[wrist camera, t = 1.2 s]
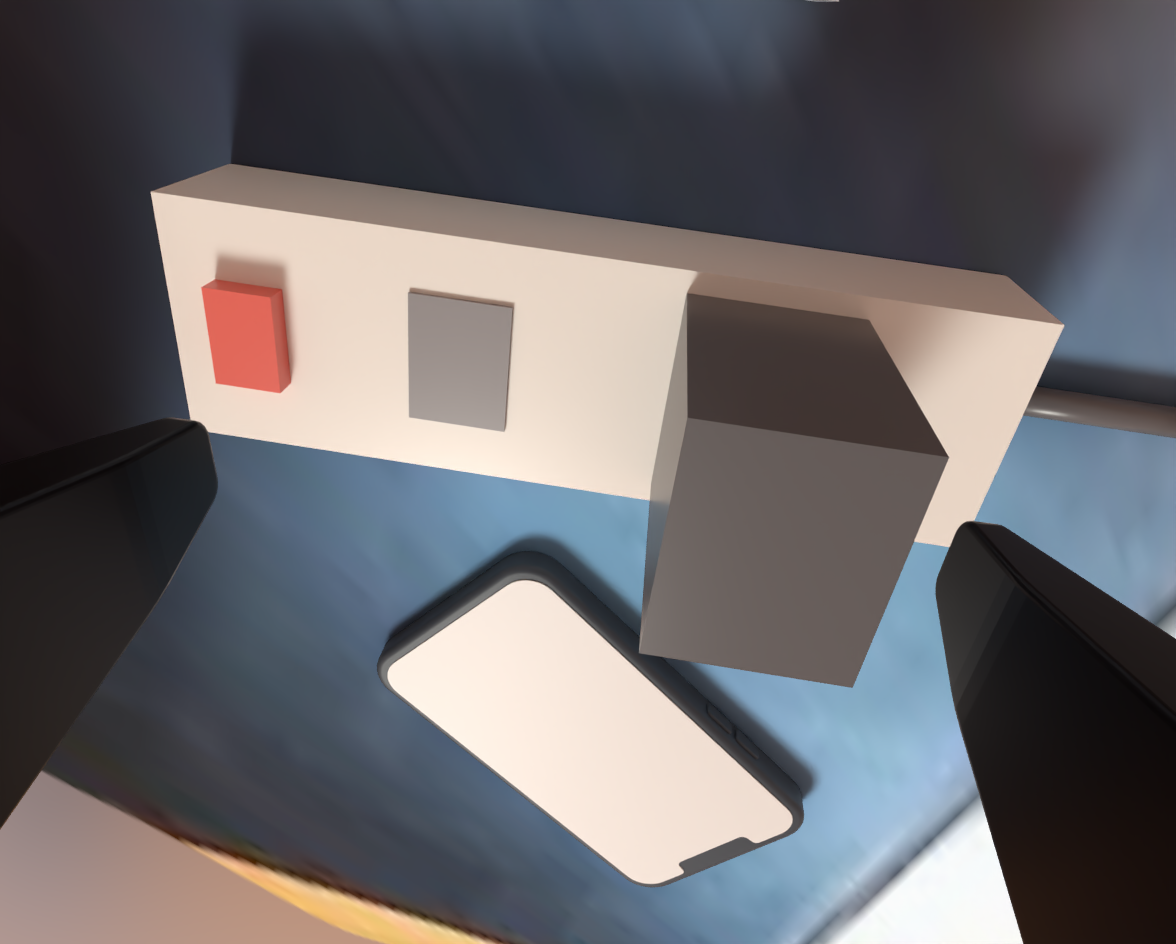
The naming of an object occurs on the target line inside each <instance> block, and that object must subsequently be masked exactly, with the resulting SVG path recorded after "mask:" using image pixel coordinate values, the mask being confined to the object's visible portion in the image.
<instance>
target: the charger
mask: <svg viewBox="0 0 1176 944" xmlns="http://www.w3.org/2000/svg"><path fill="white" fill-rule="evenodd" d="M948 459H949V456H948V455H947V453H946V451H945V449H944V448H943V446H942V444H941V443H940V441H939V439H938V437H937V436H936V434H935V432H934V430H933V429H932V427H931V425H930V424H929V422H928V420H927V418H926V417H925V415H924V413H923V412H922V410H921V408H920V406H919V405H918V403H917V401H916V399H915V398H914V396H913V394H912V393H911V391H910V389H909V387H908V386H907V384H906V382H905V381H904V379H903V377H902V375H901V374H900V372H899V370H898V369H897V367H896V365H895V363H894V362H893V360H892V358H891V356H890V355H889V353H888V351H887V350H886V348H885V346H884V344H883V343H882V341H881V339H880V338H879V336H878V334H877V332H876V331H875V329H874V327H873V325H872V324H871V322H870V320H867V319H860V318H854V317H847V316H840V315H833V314H826V313H820V312H813V311H806V310H799V309H792V308H786V307H779V306H772V305H765V304H758V303H752V302H745V301H738V300H731V299H724V298H718V297H711V296H704V295H697V294H690V293H687V294H686V299H685V305H684V310H683V315H682V321H681V326H680V331H679V337H678V342H677V347H676V353H675V358H674V363H673V369H672V374H671V379H670V385H669V390H668V395H667V401H666V406H665V411H664V417H663V422H662V427H661V433H660V438H659V443H658V449H657V454H656V459H655V465H654V470H653V475H652V481H651V489H650V504H649V518H648V532H647V546H646V560H645V575H644V589H643V603H642V617H641V631H640V645H639V653H641V654H647V655H653V656H660V657H666V658H672V659H678V660H684V661H690V662H697V663H703V664H709V665H715V666H721V667H728V668H734V669H740V670H746V671H752V672H759V673H765V674H771V675H777V676H783V677H789V678H796V679H802V680H808V681H814V682H820V683H827V684H833V685H839V686H845V687H851V688H853V685H854V683H855V681H856V678H857V676H858V674H859V671H860V669H861V666H862V664H863V662H864V659H865V657H866V654H867V652H868V650H869V647H870V645H871V643H872V640H873V638H874V635H875V633H876V631H877V628H878V626H879V623H880V621H881V619H882V616H883V614H884V612H885V609H886V607H887V604H888V602H889V600H890V597H891V595H892V593H893V590H894V588H895V585H896V583H897V581H898V578H899V576H900V573H901V571H902V569H903V566H904V564H905V562H906V559H907V557H908V554H909V552H910V550H911V547H912V545H913V543H914V540H915V538H916V535H917V533H918V531H919V528H920V526H921V523H922V521H923V519H924V516H925V514H926V512H927V509H928V507H929V504H930V502H931V500H932V497H933V495H934V493H935V490H936V488H937V485H938V483H939V481H940V478H941V476H942V473H943V471H944V469H945V466H946V464H947V462H948Z"/></svg>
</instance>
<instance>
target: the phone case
mask: <svg viewBox="0 0 1176 944" xmlns="http://www.w3.org/2000/svg"><path fill="white" fill-rule="evenodd" d="M639 645H640V637H639V636H638V635H637V634H636V633H635V632H634V631H632V630H631V629H630V628H629V627H628V626H627V625H626V624H625V623H624V622H623V621H622V620H621V619H620V618H618V617H617V616H616V615H615V614H614V613H613V612H612V611H611V610H610V609H609V608H608V607H607V606H606V605H604V604H603V603H602V602H601V601H600V600H599V599H598V598H597V597H596V596H595V595H594V594H593V593H592V592H590V591H589V590H588V589H587V588H586V587H585V586H584V585H583V584H582V583H581V582H580V581H579V580H578V579H576V578H575V577H574V576H573V575H572V574H571V573H570V572H569V571H568V570H567V569H566V568H565V567H564V566H562V565H561V564H560V563H559V562H558V561H556V560H555V559H553V558H552V557H550V556H548V555H545V554H542V553H538V552H533V551H524V552H517V553H514V554H511V555H509V556H507V557H506V558H504V559H503V560H501V561H500V562H498V563H497V564H496V565H494V566H493V567H491V568H490V569H489V570H487V571H486V572H484V573H483V574H481V575H480V576H479V577H477V578H476V579H474V580H473V581H472V582H470V583H469V584H467V585H466V586H464V587H463V588H462V589H460V590H459V591H457V592H456V593H455V594H453V595H452V596H450V597H449V598H448V599H446V600H445V601H443V602H442V603H440V604H439V605H438V606H436V607H435V608H433V609H432V610H431V611H429V612H428V613H426V614H425V615H424V616H422V617H421V618H419V619H418V620H416V621H415V622H414V623H412V624H411V625H409V626H408V627H407V628H405V629H404V630H402V631H401V632H400V633H398V634H397V635H395V636H394V637H392V638H391V639H390V640H389V641H388V642H387V644H386V645H385V647H384V649H383V651H382V653H381V655H380V657H379V660H378V663H377V672H378V675H379V678H380V680H381V682H382V683H383V684H384V686H385V687H386V688H387V689H388V690H390V691H391V692H392V693H393V694H395V695H396V696H397V697H398V698H400V699H401V700H402V701H403V702H405V703H406V704H407V705H408V706H410V707H411V708H412V709H413V710H415V711H416V712H417V713H418V714H420V715H421V716H422V717H423V718H425V719H426V720H427V721H428V722H430V723H431V724H432V725H434V726H435V727H436V728H437V729H439V730H440V731H441V732H442V733H444V734H445V735H446V736H447V737H449V738H450V739H451V740H452V741H454V742H455V743H456V744H457V745H459V746H460V747H461V748H462V749H464V750H465V751H466V752H467V753H469V754H470V755H471V756H472V757H474V758H475V759H476V760H477V761H479V762H480V763H481V764H483V765H484V766H485V767H486V768H488V769H489V770H490V771H491V772H493V773H494V774H495V775H496V776H498V777H499V778H500V779H501V780H503V781H504V782H505V783H506V784H508V785H509V786H510V787H511V788H513V789H514V790H515V791H516V792H518V793H519V794H520V795H521V796H523V797H524V798H525V799H526V800H528V801H529V802H530V803H532V804H533V805H534V806H535V807H537V808H538V809H539V810H540V811H542V812H543V813H544V814H545V815H547V816H548V817H549V818H550V819H552V820H553V821H554V822H555V823H557V824H558V825H559V826H560V827H562V828H563V829H564V830H565V831H567V832H568V833H569V834H570V835H572V836H573V837H574V838H575V839H577V840H578V841H579V842H581V843H582V844H583V845H584V846H586V847H587V848H588V849H589V850H591V851H592V852H593V853H594V854H596V855H597V856H598V857H599V858H601V859H602V860H603V861H604V862H606V863H607V864H608V865H609V866H611V867H612V868H613V869H614V870H616V871H617V872H618V873H619V874H621V875H622V876H623V877H624V878H626V879H627V880H629V881H630V882H632V883H634V884H637V885H640V886H645V887H661V886H665V885H668V884H671V883H673V882H676V881H678V880H681V879H683V878H685V877H688V876H690V875H693V874H695V873H698V872H700V871H703V870H705V869H708V868H710V867H713V866H715V865H718V864H720V863H723V862H725V861H727V860H730V859H732V858H735V857H737V856H740V855H742V854H745V853H747V852H750V851H752V850H755V849H757V848H760V847H762V846H765V845H767V844H769V843H772V842H774V841H777V840H779V839H782V838H784V837H787V836H789V835H791V834H793V833H794V832H796V831H797V830H798V829H799V828H800V826H801V825H802V823H803V820H804V810H803V803H802V796H801V792H800V789H799V787H798V786H797V785H796V783H795V782H794V781H793V780H792V779H791V778H790V777H788V776H787V775H786V774H785V773H784V772H783V771H782V770H781V769H780V768H779V767H778V766H777V765H776V764H775V763H774V762H773V761H772V760H771V759H770V758H768V757H767V756H766V755H765V754H764V753H763V752H762V751H761V750H760V749H759V748H758V747H757V746H756V745H755V744H754V743H753V742H751V741H750V740H749V739H748V738H747V737H746V736H745V735H744V734H743V733H742V732H741V731H740V730H739V729H738V728H737V727H735V726H734V725H733V724H732V723H731V722H730V721H729V720H728V719H727V718H726V717H725V716H724V715H723V714H722V713H720V712H719V711H718V710H717V709H716V708H715V707H714V706H713V705H712V704H711V703H710V702H709V701H708V700H707V699H706V698H704V697H703V696H702V695H701V694H700V693H699V692H698V691H697V690H696V689H695V688H694V687H693V686H692V685H691V684H689V683H688V682H687V681H686V680H685V679H684V678H683V677H682V676H681V675H680V674H679V673H678V672H677V671H676V670H674V669H673V668H672V667H671V666H670V665H669V664H668V663H667V662H666V661H665V660H664V659H663V658H662V657H660V656H653V655H647V654H641V653H639Z"/></svg>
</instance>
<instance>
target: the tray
mask: <svg viewBox="0 0 1176 944" xmlns="http://www.w3.org/2000/svg"><path fill="white" fill-rule="evenodd" d="M807 1H814V2H839V0H807Z"/></svg>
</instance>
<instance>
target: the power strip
mask: <svg viewBox="0 0 1176 944" xmlns="http://www.w3.org/2000/svg"><path fill="white" fill-rule="evenodd" d="M151 197H152V202H153V208H154V214H155V220H156V225H157V231H158V237H159V242H160V248H161V254H162V259H163V265H164V271H165V276H166V282H167V288H168V293H169V299H170V305H171V311H172V316H173V322H174V328H175V333H176V339H177V345H178V350H179V356H180V362H181V367H182V373H183V379H184V384H185V390H186V396H187V402H188V407H189V413H190V419H191V420H194V421H198V422H200V423H202V424H203V425H204V426H205V427H206V429H207V431H208V432H213V433H219V434H226V435H232V436H238V437H245V438H251V439H258V440H264V441H271V442H277V443H283V444H290V445H296V446H303V447H309V448H316V449H322V450H329V451H335V452H341V453H348V454H354V455H361V456H367V457H374V458H380V459H386V460H393V461H399V462H406V463H412V464H419V465H425V466H431V467H438V468H444V469H451V470H457V471H464V472H470V473H477V474H483V475H489V476H496V477H502V478H509V479H515V480H522V481H528V482H534V483H541V484H547V485H554V486H560V487H567V488H573V489H579V490H586V491H592V492H599V493H605V494H612V495H618V496H625V497H631V498H637V499H644V500H650V489H651V481H652V475H653V470H654V465H655V459H656V454H657V449H658V443H659V438H660V433H661V427H662V422H663V417H664V411H665V406H666V401H667V395H668V390H669V385H670V379H671V374H672V369H673V363H674V358H675V353H676V347H677V342H678V337H679V331H680V326H681V321H682V315H683V310H684V305H685V299H686V294H687V293H690V294H697V295H704V296H711V297H718V298H724V299H731V300H738V301H745V302H752V303H758V304H765V305H772V306H779V307H786V308H792V309H799V310H806V311H813V312H820V313H826V314H833V315H840V316H847V317H854V318H860V319H867V320H870V322H871V324H872V325H873V327H874V329H875V331H876V332H877V334H878V336H879V338H880V339H881V341H882V343H883V344H884V346H885V348H886V350H887V351H888V353H889V355H890V356H891V358H892V360H893V362H894V363H895V365H896V367H897V369H898V370H899V372H900V374H901V375H902V377H903V379H904V381H905V382H906V384H907V386H908V387H909V389H910V391H911V393H912V394H913V396H914V398H915V399H916V401H917V403H918V405H919V406H920V408H921V410H922V412H923V413H924V415H925V417H926V418H927V420H928V422H929V424H930V425H931V427H932V429H933V430H934V432H935V434H936V436H937V437H938V439H939V441H940V443H941V444H942V446H943V448H944V449H945V451H946V453H947V455H948V456H949V459H948V462H947V464H946V466H945V469H944V471H943V473H942V476H941V478H940V481H939V483H938V485H937V488H936V490H935V493H934V495H933V497H932V500H931V502H930V504H929V507H928V509H927V512H926V514H925V516H924V519H923V521H922V523H921V526H920V528H919V531H918V533H917V535H916V538H915V540H914V542H920V543H927V544H933V545H940V546H946V547H950V545H951V543H952V540H953V538H954V535H955V533H956V531H957V529H958V528H959V527H960V525H961V524H963V523H964V522H966V521H974V520H975V517H976V515H977V513H978V511H979V509H980V507H981V504H982V502H983V500H984V498H985V496H986V494H987V492H988V489H989V487H990V485H991V483H992V481H993V479H994V476H995V474H996V472H997V470H998V468H999V466H1000V463H1001V461H1002V459H1003V457H1004V455H1005V453H1006V450H1007V448H1008V446H1009V444H1010V442H1011V440H1012V437H1013V435H1014V433H1015V431H1016V429H1017V427H1018V425H1019V422H1020V420H1021V418H1022V416H1023V415H1024V416H1031V417H1038V418H1044V419H1051V420H1058V421H1064V422H1071V423H1078V424H1084V425H1091V426H1098V427H1104V428H1111V429H1118V430H1124V431H1131V432H1138V433H1144V434H1151V435H1158V436H1164V437H1171V438H1176V407H1172V406H1166V405H1159V404H1152V403H1145V402H1139V401H1132V400H1125V399H1118V398H1112V397H1105V396H1098V395H1091V394H1085V393H1078V392H1071V391H1065V390H1058V389H1051V388H1044V387H1038V386H1037V383H1038V381H1039V379H1040V377H1041V375H1042V373H1043V370H1044V368H1045V366H1046V364H1047V362H1048V360H1049V358H1050V355H1051V353H1052V351H1053V349H1054V347H1055V345H1056V342H1057V340H1058V338H1059V336H1060V334H1061V332H1062V329H1063V327H1064V324H1063V323H1061V322H1060V321H1059V320H1058V319H1057V318H1056V317H1054V316H1053V315H1052V314H1051V313H1050V312H1048V311H1047V310H1046V309H1045V308H1044V307H1043V306H1041V305H1040V304H1039V303H1038V302H1037V301H1036V300H1034V299H1033V298H1032V297H1031V296H1030V295H1028V294H1027V293H1026V292H1025V291H1024V290H1023V289H1021V288H1020V287H1019V286H1018V285H1017V284H1016V283H1014V282H1013V281H1012V280H1011V279H1010V278H1008V277H1007V276H1005V275H998V274H991V273H984V272H977V271H970V270H963V269H956V268H949V267H942V266H935V265H928V264H921V263H915V262H908V261H901V260H894V259H887V258H880V257H873V256H866V255H859V254H852V253H845V252H838V251H831V250H825V249H818V248H811V247H804V246H797V245H790V244H783V243H776V242H769V241H762V240H755V239H748V238H741V237H734V236H728V235H721V234H714V233H707V232H700V231H693V230H686V229H679V228H672V227H665V226H658V225H651V224H644V223H637V222H631V221H624V220H617V219H610V218H603V217H596V216H589V215H582V214H575V213H568V212H561V211H554V210H547V209H540V208H534V207H527V206H520V205H513V204H506V203H499V202H492V201H485V200H478V199H471V198H464V197H457V196H450V195H443V194H437V193H430V192H423V191H416V190H409V189H402V188H395V187H388V186H381V185H374V184H367V183H360V182H353V181H346V180H340V179H333V178H326V177H319V176H312V175H305V174H298V173H291V172H284V171H277V170H270V169H263V168H256V167H249V166H243V165H236V164H228V165H225V166H222V167H219V168H216V169H213V170H211V171H208V172H205V173H202V174H199V175H196V176H194V177H191V178H188V179H185V180H182V181H180V182H177V183H174V184H171V185H168V186H165V187H163V188H160V189H157V190H154V191H151Z"/></svg>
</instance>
